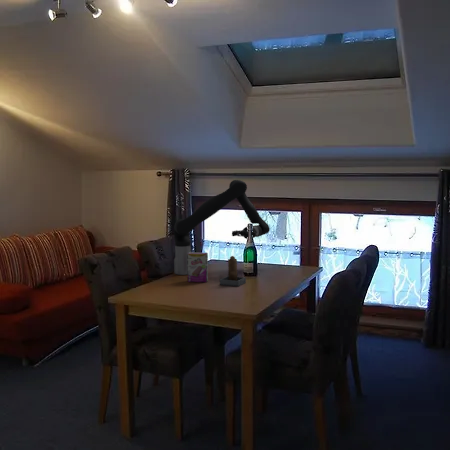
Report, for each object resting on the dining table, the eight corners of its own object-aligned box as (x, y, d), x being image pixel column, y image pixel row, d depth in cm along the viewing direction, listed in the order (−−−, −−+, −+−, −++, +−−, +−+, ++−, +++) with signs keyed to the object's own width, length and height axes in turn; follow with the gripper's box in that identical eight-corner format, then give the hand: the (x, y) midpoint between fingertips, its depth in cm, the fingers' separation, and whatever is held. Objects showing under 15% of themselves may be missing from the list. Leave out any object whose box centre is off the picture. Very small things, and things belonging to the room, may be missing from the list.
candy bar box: (187, 282, 292) (186, 253, 290) (188, 280, 297) (188, 252, 295) (207, 282, 291) (206, 253, 289) (208, 280, 296) (207, 252, 294)
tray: (220, 284, 285) (219, 279, 284) (227, 281, 293) (227, 276, 293) (238, 286, 280) (238, 281, 279) (245, 282, 289) (245, 277, 288)
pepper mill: (227, 283, 286) (226, 256, 284) (230, 281, 290) (230, 255, 288) (235, 283, 283) (234, 256, 282) (238, 282, 288) (238, 255, 286)
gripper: (240, 225, 317) (228, 227, 303) (261, 226, 311) (250, 229, 296) (239, 237, 318) (228, 240, 303) (261, 239, 312) (250, 242, 297)
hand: (239, 234), depth 300 cm, fingers open, 8 cm apart
